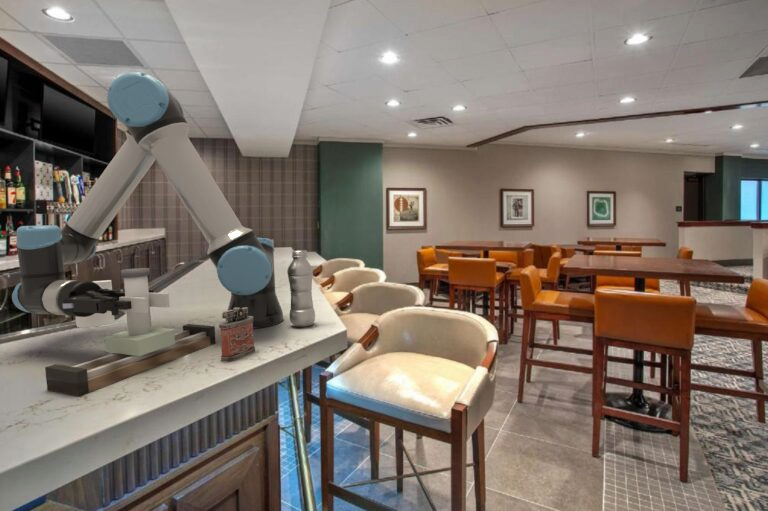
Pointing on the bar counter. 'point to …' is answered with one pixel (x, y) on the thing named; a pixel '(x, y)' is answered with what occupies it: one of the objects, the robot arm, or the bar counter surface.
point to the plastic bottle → (301, 290)
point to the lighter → (236, 334)
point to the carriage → (138, 321)
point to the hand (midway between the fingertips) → (156, 302)
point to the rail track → (124, 363)
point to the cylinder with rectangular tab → (97, 318)
